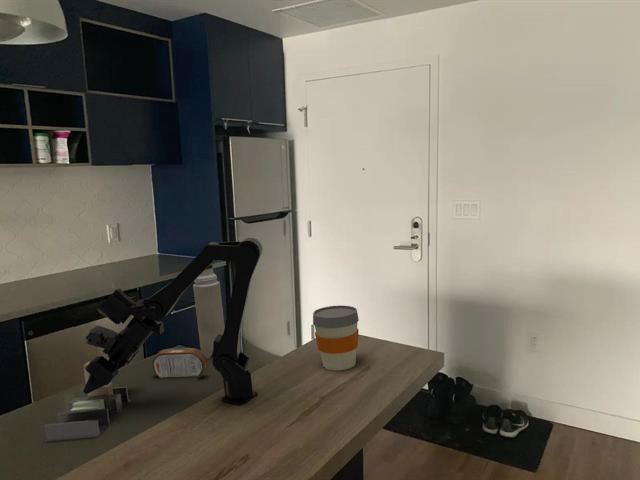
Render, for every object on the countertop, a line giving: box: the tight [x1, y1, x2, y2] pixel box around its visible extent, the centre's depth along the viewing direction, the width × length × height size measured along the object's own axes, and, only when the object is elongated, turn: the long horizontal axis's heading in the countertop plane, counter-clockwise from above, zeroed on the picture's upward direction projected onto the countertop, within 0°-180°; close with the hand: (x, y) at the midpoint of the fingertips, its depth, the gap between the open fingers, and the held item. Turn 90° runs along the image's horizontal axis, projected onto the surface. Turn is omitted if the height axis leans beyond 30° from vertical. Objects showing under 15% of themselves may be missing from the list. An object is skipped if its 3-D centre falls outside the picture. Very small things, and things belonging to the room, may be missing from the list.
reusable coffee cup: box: [312, 305, 359, 371], centre depth 136 cm, size 12×13×15 cm
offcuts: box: [70, 399, 105, 412], centre depth 113 cm, size 6×4×4 cm, turn 91°
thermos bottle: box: [192, 264, 225, 359], centre depth 153 cm, size 8×8×28 cm
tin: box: [151, 347, 209, 379], centre depth 136 cm, size 15×3×8 cm, turn 84°
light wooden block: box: [82, 359, 114, 397], centre depth 120 cm, size 5×2×11 cm, turn 91°
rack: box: [43, 386, 131, 443], centre depth 114 cm, size 12×18×4 cm
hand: (93, 384), depth 120 cm, fingers open, 9 cm apart
